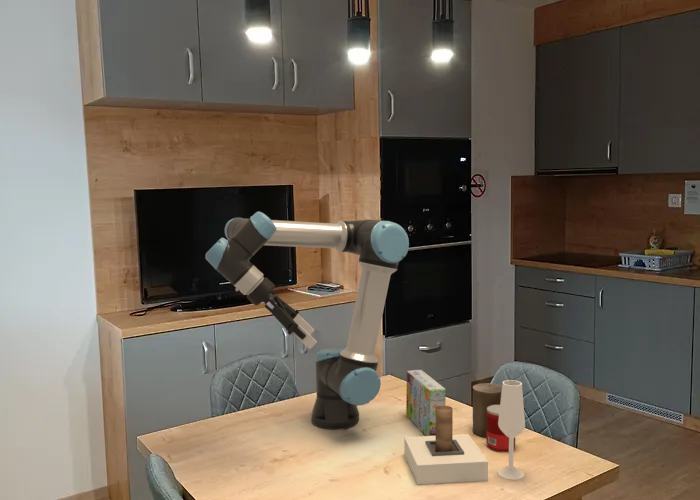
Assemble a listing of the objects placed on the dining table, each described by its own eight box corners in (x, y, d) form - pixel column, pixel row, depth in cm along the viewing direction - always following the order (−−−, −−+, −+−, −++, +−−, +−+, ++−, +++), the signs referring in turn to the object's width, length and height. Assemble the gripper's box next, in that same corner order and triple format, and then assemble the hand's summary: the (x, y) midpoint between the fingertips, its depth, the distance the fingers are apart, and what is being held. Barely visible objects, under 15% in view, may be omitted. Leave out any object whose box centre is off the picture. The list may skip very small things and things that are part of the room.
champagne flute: (523, 469, 171) (525, 379, 168) (524, 480, 164) (526, 387, 162) (497, 467, 172) (498, 378, 170) (497, 478, 166) (498, 386, 163)
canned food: (515, 453, 181) (516, 414, 179) (486, 451, 182) (486, 413, 181) (514, 442, 188) (515, 405, 187) (486, 440, 190) (486, 403, 189)
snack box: (446, 438, 192) (446, 388, 190) (428, 440, 190) (428, 390, 189) (421, 413, 212) (421, 368, 211) (404, 415, 211) (404, 369, 209)
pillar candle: (506, 439, 190) (507, 389, 189) (472, 437, 192) (472, 387, 191) (504, 427, 200) (505, 379, 198) (471, 425, 202) (472, 377, 200)
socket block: (404, 454, 181) (404, 435, 180) (468, 451, 182) (468, 431, 182) (417, 484, 163) (417, 463, 162) (487, 480, 164) (488, 459, 164)
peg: (433, 463, 174) (433, 405, 173) (450, 462, 175) (450, 405, 173) (437, 471, 170) (437, 411, 168) (454, 470, 171) (454, 410, 169)
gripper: (248, 288, 187) (301, 338, 190) (242, 305, 162) (304, 361, 165) (266, 269, 187) (319, 319, 190) (263, 283, 162) (324, 340, 165)
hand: (312, 339), depth 178 cm, fingers open, 13 cm apart
